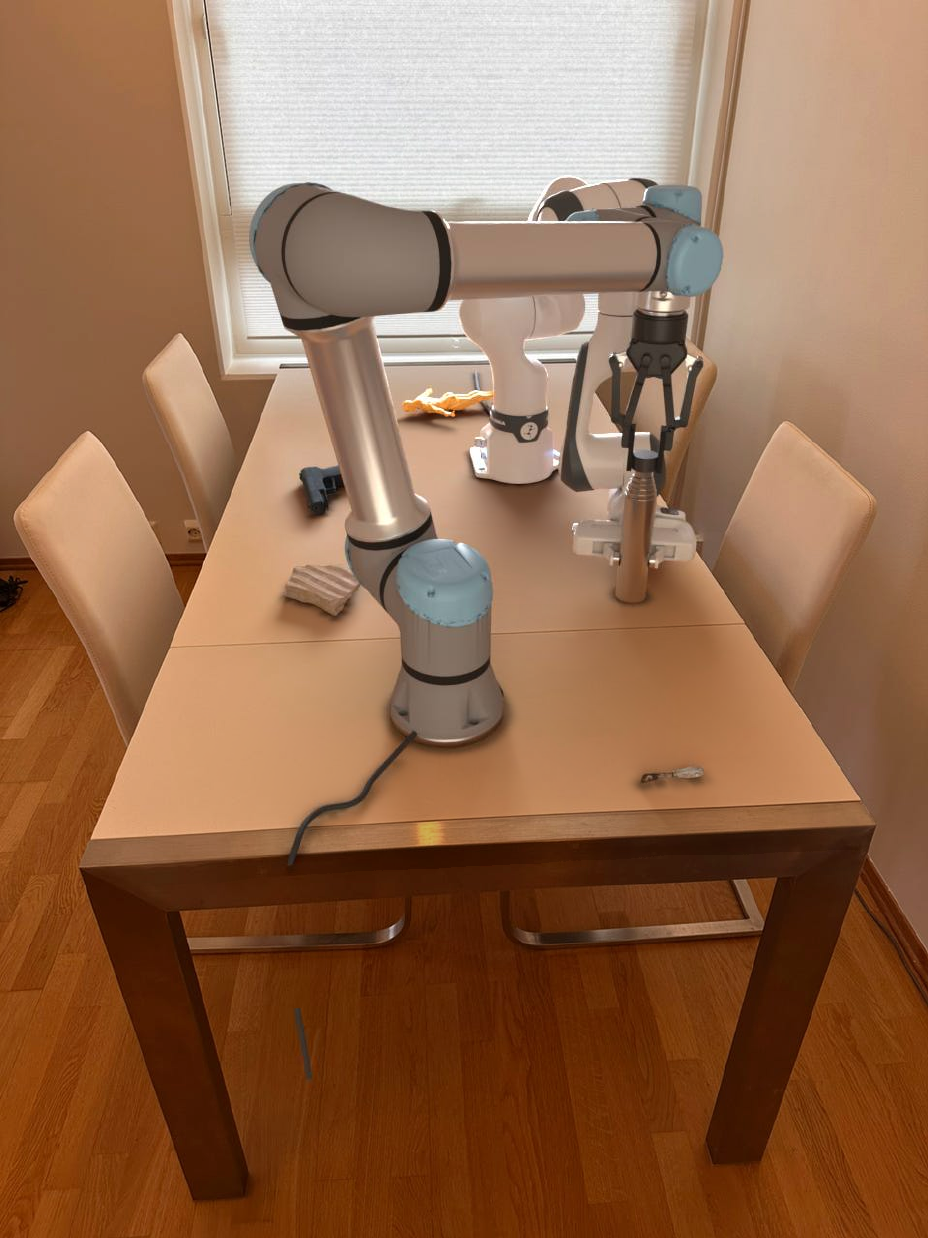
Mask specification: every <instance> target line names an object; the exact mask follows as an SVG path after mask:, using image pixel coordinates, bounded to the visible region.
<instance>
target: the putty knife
mask: <svg viewBox="0 0 928 1238" xmlns="http://www.w3.org/2000/svg"><path fill="white" fill-rule="evenodd" d="M704 772H705V771H704V768H702V767H701V766H697V765H695V766H688V767H683V768H679V769H675V770H673V771H671V772H653V773H652V772H651V773H650V772H649V773H644V774H642V776H641V779H640V783H642V784H645V783H648V782H653V781H659V780H665V779H668V778H673V779H674V778H675V779H693V778H694V779H695V778H700V777H702V776H703V775H704Z"/></svg>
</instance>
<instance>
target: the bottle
mask: <svg viewBox="0 0 928 1238" xmlns="http://www.w3.org/2000/svg"><path fill="white" fill-rule="evenodd" d="M653 478H654V476H653V475H652V472H650V473H641V472H637V471H635V473H634V474H633V477H632V478H631V481H630V482H629V485H628V487H627V489H626V492H625V501H624V511H623V521H622V531H621V541H620V551H619V566H617V572H616V583H615V591H614V592H615V593H614V594H615V597H616V598H617V599H618V600H619V601H622V602H625V603H628V604H630V603H631V604H633V603H634V604H636V603H641V602H642V601H644V600H645V598H646V592H647V583H648V575H649V569H650V568H649V559H650V551H651V543H652V535H653V526H654V518H655V510H656V501H657V502H658V497H657V489H656V485H655V480H654V479H653Z"/></svg>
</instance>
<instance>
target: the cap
mask: <svg viewBox="0 0 928 1238" xmlns="http://www.w3.org/2000/svg"><path fill="white" fill-rule="evenodd" d="M657 461H658V453H656V452H654V451H651V450H637V451H634V452H633V459H632V469H633V470H634V471H637V472H641V473H650V472H654V471H656V469H657Z"/></svg>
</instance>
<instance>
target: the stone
mask: <svg viewBox="0 0 928 1238" xmlns="http://www.w3.org/2000/svg"><path fill="white" fill-rule="evenodd" d="M360 586H361V584H360V583H359V582H358V581H357V580H356V578H355V577H354V575H353V574H352V572H351V569H350V567H347V566H344V565H342V564H341V565H340V564H329V565H320V564H306V565H296V566H294V567H293V569H292V572H291V575H290V578H289V580H288V582H287V583H286V584H285V585H284V593H283V596H284V597H286V598H290V599H293V600H297V601H300V603H308V604H311V605H314V606H316V607H319V608H320V609H321V610H323V611H325V612H326V613H328V614H330V615H331V616H335V617H337V616H338V615H339V613H340V612H342V611H343V610H344V608H345V604H346V602H347V601H348V600H349V599H350V598H351V596H352V595H353V594H355V593H356V592H357V591H358V589H359V588H360Z"/></svg>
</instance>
